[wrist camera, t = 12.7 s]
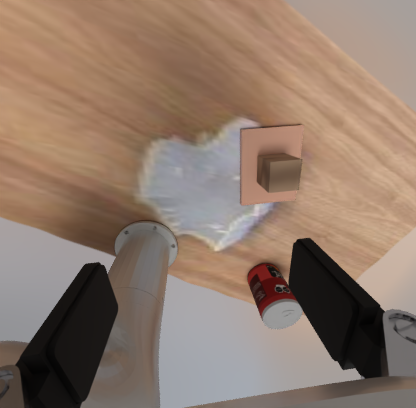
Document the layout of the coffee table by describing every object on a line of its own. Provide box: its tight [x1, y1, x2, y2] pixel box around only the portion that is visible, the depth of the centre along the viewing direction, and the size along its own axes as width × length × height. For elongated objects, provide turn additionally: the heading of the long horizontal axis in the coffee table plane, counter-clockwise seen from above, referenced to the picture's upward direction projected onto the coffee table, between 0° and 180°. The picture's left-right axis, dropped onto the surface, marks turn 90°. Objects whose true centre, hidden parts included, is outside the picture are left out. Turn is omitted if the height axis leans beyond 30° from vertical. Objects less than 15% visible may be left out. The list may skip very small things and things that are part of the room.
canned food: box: [248, 264, 302, 329], centre depth 43 cm, size 8×8×11 cm
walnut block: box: [257, 153, 302, 193], centre depth 34 cm, size 5×5×6 cm
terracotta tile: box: [240, 125, 304, 205], centre depth 37 cm, size 14×11×1 cm
